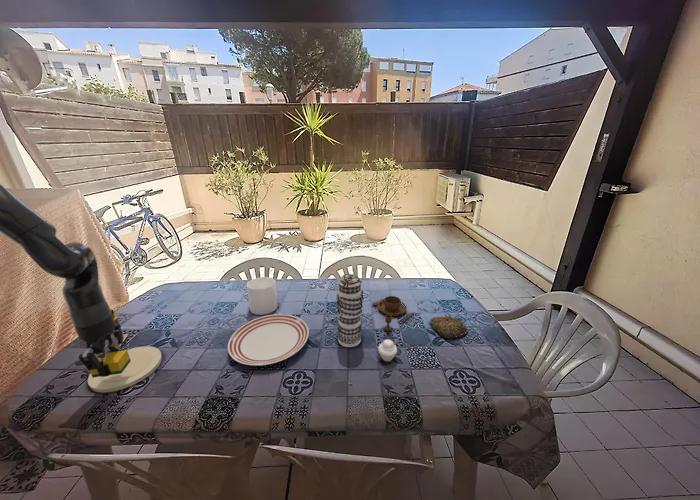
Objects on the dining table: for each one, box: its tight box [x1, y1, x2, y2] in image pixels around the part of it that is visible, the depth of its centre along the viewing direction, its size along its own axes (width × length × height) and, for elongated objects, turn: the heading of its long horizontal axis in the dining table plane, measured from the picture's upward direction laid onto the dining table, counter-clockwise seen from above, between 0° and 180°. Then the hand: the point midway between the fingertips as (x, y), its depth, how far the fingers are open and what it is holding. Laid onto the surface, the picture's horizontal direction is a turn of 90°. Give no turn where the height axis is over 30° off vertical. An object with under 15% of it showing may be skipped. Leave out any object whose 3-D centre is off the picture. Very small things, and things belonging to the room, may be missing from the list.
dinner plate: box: [227, 313, 310, 367], centre depth 96 cm, size 27×27×3 cm
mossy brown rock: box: [430, 315, 468, 339], centre depth 104 cm, size 13×12×5 cm
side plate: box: [87, 345, 163, 394], centre depth 84 cm, size 18×18×1 cm
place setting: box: [372, 295, 414, 333], centre depth 113 cm, size 18×20×6 cm
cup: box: [246, 276, 279, 316], centre depth 116 cm, size 12×12×12 cm
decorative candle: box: [336, 273, 364, 348], centre depth 94 cm, size 9×9×25 cm
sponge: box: [89, 349, 131, 378], centre depth 77 cm, size 7×5×4 cm
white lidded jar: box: [377, 338, 398, 362], centre depth 88 cm, size 6×6×7 cm
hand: (111, 367), depth 77 cm, fingers closed on sponge, 5 cm apart
